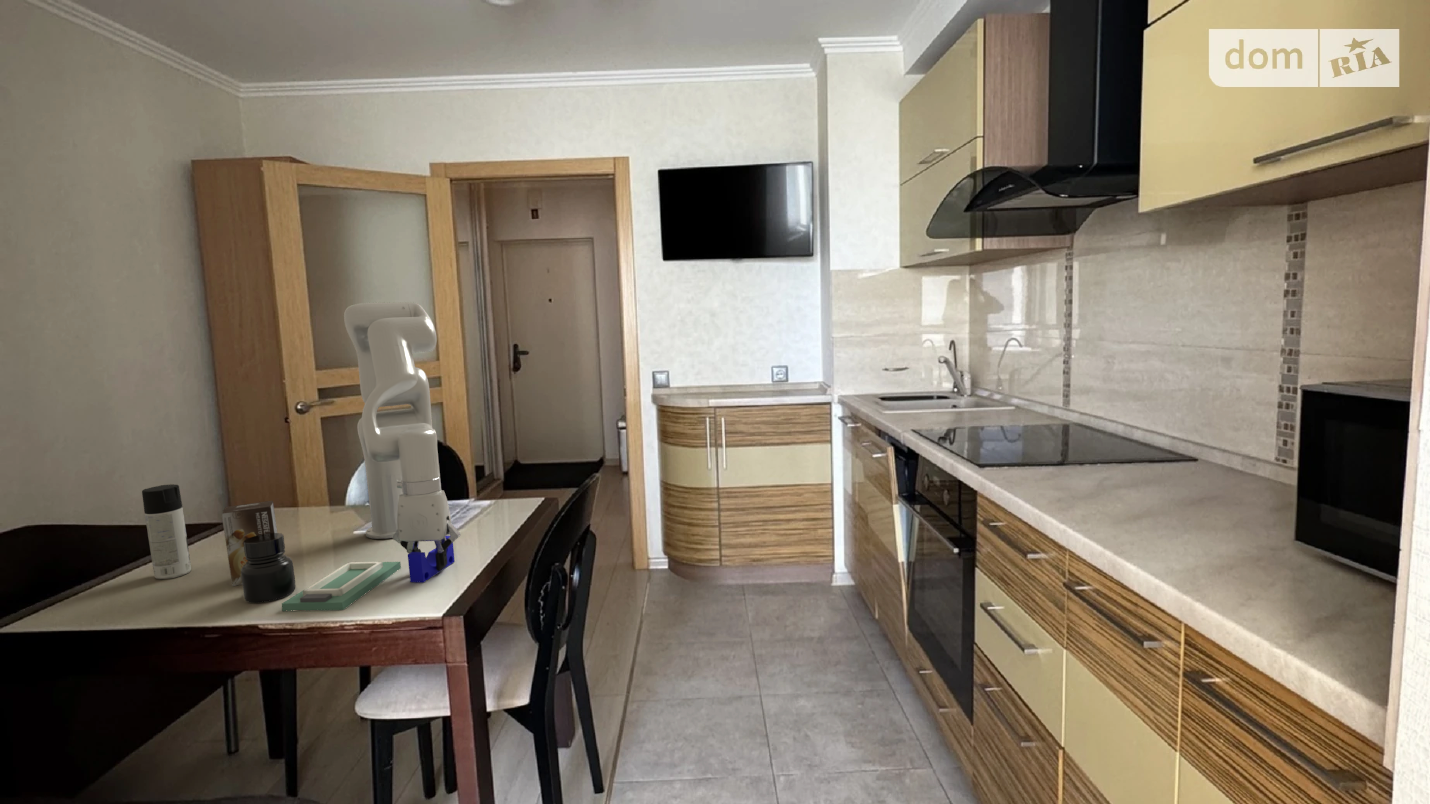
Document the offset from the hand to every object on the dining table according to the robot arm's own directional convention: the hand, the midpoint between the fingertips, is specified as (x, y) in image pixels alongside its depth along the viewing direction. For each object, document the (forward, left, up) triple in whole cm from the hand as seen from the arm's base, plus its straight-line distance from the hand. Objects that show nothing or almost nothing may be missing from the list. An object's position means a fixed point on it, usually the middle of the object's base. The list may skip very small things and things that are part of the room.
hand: (429, 568), depth 151 cm
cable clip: (0, 0, -1) cm, 1 cm away
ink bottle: (+11, -28, -1) cm, 30 cm away
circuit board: (+8, -14, -1) cm, 16 cm away
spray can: (-2, -60, -1) cm, 60 cm away
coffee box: (+1, -38, -1) cm, 38 cm away
